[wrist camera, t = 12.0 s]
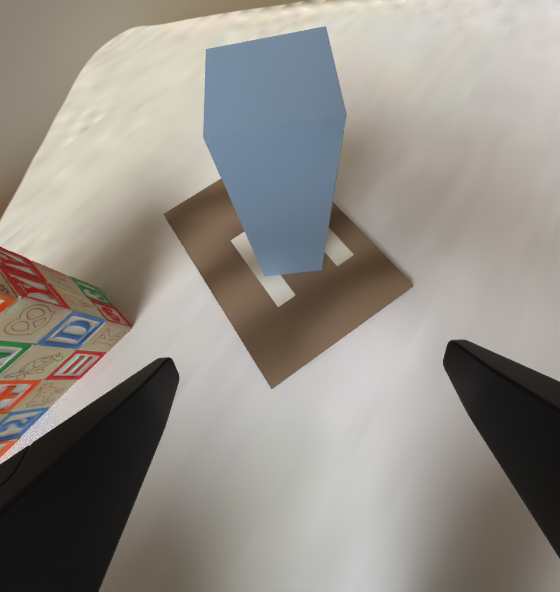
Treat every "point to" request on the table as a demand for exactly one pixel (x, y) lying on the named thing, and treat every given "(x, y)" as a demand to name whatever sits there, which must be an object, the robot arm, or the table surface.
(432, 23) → the table surface
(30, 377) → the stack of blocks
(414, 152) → the table surface
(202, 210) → the letter board
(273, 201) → the blue pillar
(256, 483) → the table surface
